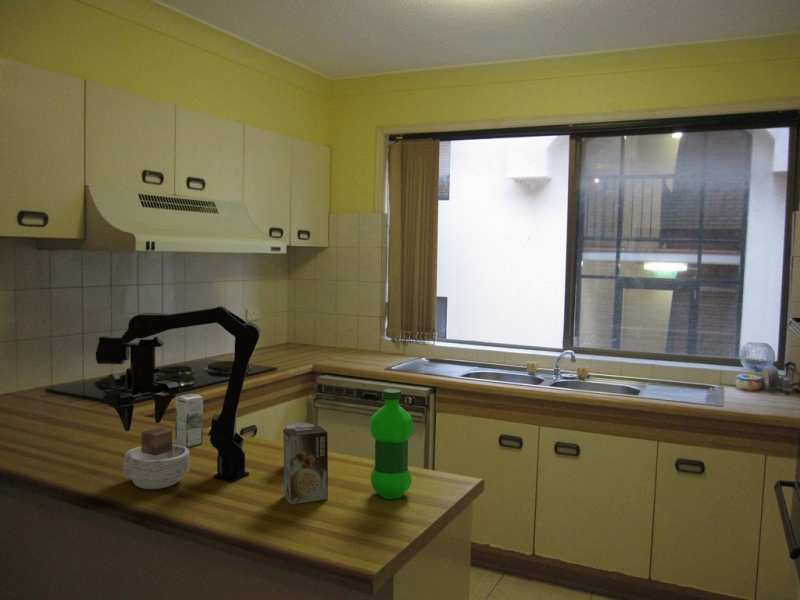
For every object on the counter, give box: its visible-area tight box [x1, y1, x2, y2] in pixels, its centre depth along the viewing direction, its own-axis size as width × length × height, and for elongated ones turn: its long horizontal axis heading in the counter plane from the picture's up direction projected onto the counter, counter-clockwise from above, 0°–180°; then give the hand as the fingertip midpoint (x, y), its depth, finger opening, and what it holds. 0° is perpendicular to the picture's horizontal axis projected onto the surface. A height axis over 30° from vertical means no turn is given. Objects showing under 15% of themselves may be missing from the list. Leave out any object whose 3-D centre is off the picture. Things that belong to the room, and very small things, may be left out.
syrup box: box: [174, 393, 204, 448], centre depth 193 cm, size 6×6×14 cm
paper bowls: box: [122, 443, 191, 490], centre depth 161 cm, size 15×15×8 cm
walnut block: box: [141, 427, 173, 456], centre depth 161 cm, size 5×5×5 cm
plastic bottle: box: [369, 388, 415, 500], centre depth 155 cm, size 10×10×25 cm
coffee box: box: [283, 425, 329, 506], centre depth 152 cm, size 9×6×16 cm
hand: (142, 426), depth 162 cm, fingers open, 9 cm apart
